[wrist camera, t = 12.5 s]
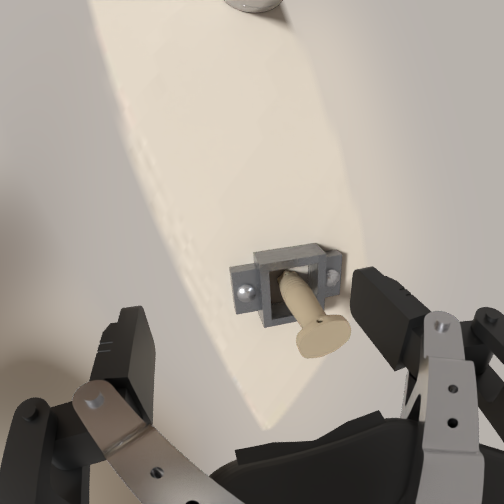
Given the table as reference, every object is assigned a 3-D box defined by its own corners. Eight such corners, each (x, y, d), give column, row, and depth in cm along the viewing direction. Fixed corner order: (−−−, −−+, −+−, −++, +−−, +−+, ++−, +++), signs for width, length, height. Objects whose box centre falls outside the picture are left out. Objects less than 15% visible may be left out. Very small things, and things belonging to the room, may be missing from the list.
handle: (262, 272, 45) (295, 336, 32) (303, 257, 46) (348, 313, 32) (271, 298, 48) (303, 364, 34) (309, 283, 48) (352, 343, 35)
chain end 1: (228, 256, 43) (232, 269, 40) (308, 244, 45) (318, 255, 42) (235, 316, 48) (239, 332, 44) (307, 303, 49) (316, 317, 46)
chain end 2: (261, 251, 44) (268, 263, 40) (337, 239, 46) (349, 249, 42) (265, 311, 48) (272, 326, 45) (334, 297, 50) (344, 310, 47)
